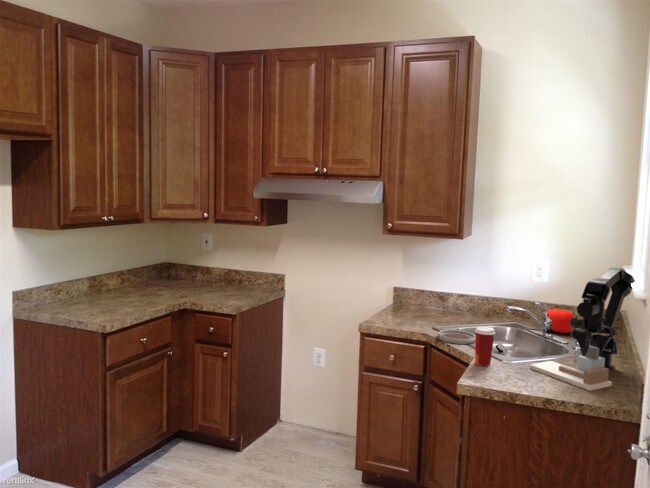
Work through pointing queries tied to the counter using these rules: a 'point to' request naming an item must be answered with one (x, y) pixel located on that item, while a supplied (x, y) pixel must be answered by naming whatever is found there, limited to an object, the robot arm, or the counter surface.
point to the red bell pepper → (561, 320)
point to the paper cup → (483, 345)
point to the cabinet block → (590, 360)
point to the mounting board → (575, 375)
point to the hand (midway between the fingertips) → (591, 354)
